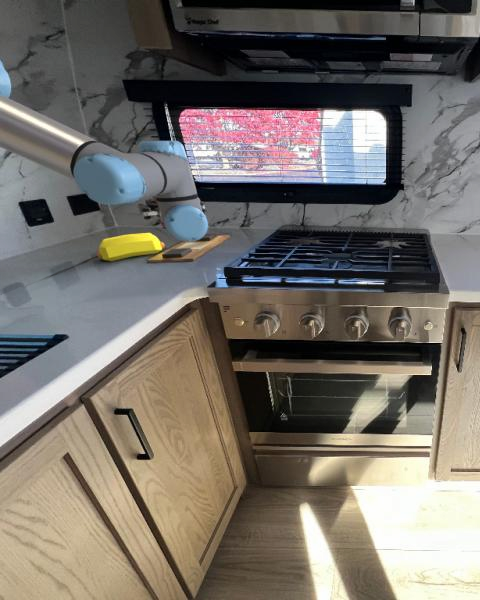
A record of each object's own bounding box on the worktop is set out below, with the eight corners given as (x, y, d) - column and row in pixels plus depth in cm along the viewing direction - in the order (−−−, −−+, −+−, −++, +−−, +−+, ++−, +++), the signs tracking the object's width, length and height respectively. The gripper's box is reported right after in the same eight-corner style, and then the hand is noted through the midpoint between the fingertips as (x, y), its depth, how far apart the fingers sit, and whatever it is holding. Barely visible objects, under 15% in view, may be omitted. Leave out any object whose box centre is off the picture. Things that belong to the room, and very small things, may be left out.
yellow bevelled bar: (99, 258, 107) (99, 264, 101) (90, 238, 104) (89, 243, 98) (165, 247, 117) (167, 252, 111) (158, 228, 114) (161, 232, 108)
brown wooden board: (147, 262, 102) (145, 256, 101) (193, 238, 127) (191, 233, 126) (193, 261, 103) (191, 254, 102) (230, 237, 128) (228, 232, 127)
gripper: (133, 237, 75) (130, 220, 91) (227, 223, 85) (209, 210, 102) (120, 203, 71) (119, 192, 88) (219, 193, 82) (202, 185, 98)
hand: (168, 202), depth 95 cm, fingers closed on soda can, 7 cm apart
